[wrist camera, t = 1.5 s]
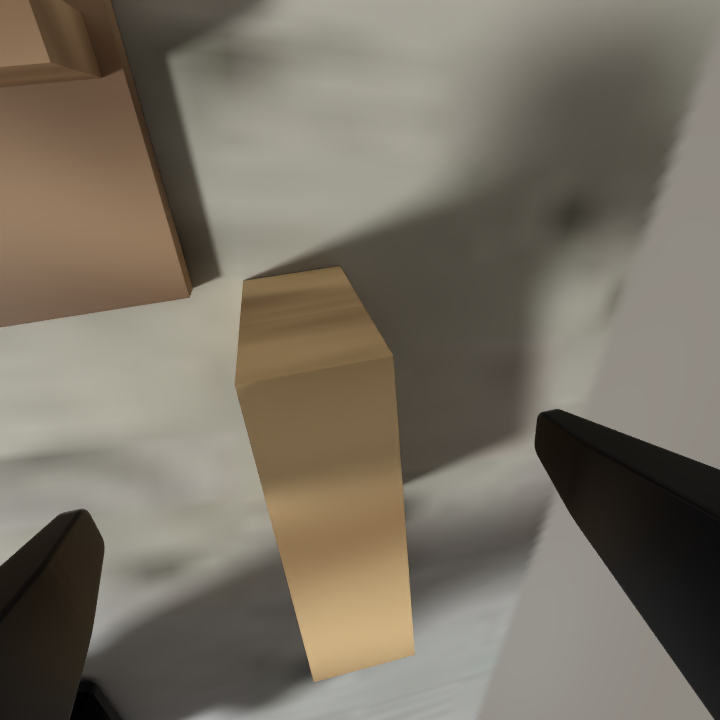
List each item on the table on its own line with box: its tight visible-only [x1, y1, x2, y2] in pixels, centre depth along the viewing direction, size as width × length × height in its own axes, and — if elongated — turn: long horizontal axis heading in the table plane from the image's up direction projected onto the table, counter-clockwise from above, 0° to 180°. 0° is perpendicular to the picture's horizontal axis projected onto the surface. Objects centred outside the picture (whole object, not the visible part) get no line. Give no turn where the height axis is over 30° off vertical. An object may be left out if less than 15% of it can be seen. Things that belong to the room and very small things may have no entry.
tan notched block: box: [235, 266, 415, 682], centre depth 14 cm, size 10×3×6 cm, turn 5°
